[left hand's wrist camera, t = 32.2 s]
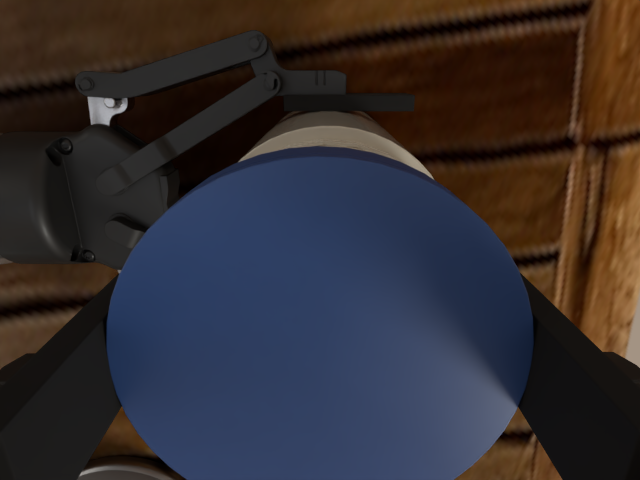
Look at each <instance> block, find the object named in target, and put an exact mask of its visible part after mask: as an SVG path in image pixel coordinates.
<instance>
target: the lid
mask: <svg viewBox="0 0 640 480" xmlns="http://www.w3.org/2000/svg"><path fill="white" fill-rule="evenodd" d="M533 347H534V333H533V316H532V312H531V307H530V302H529V298H528V293H527V290H526V288H525V285H524V283H523V280H522V277H521V275H520V272H519V270H518V268H517V266H516V264H515V263H514V261H513V259H512V257H511V256H510V254H509V252H508V250H507V249H506V247H505V245H504V244H503V243H502V242H501V241H500V239H499V238H498V237H497V236H496V234H495V233H494V232H493V231H492V229H491V228H490V227H489V226H488V224H487V223H485V222H484V221H483V220H482V219H481V218H480V217H479V216H478V215H477V214H476V213H475V212H473V211H472V210H471V209H470V208H469V207H468V206H467V205H466V204H465V203H463V202H462V201H461V200H460V199H459V198H458V197H456V196H455V195H454V194H453V193H452V192H450V191H449V190H448V189H447V188H445V187H444V186H442V185H441V184H440V183H438V182H437V181H435V180H434V179H432V178H431V177H429V176H428V175H426V174H425V173H423V172H421V171H419V170H417V169H415V168H412V167H410V166H408V165H406V164H404V163H402V162H400V161H397V160H394V159H391V158H388V157H385V156H382V155H379V154H376V153H373V152H367V151H362V150H356V149H351V148H346V147H327V146H310V147H298V148H287V149H282V150H278V151H273V152H269V153H264V154H260V155H257V156H254V157H251V158H249V159H246V160H243V161H241V162H238V163H235V164H233V165H231V166H229V167H227V168H225V169H223V170H221V171H220V172H218V173H216V174H214V175H212V176H210V177H209V178H207V179H206V180H204V181H203V182H202V183H200V184H199V185H198V186H196V187H195V188H193V189H192V190H191V191H189V192H188V193H187V194H186V195H184V196H183V197H182V198H181V199H180V200H178V201H177V202H176V203H175V204H174V205H173V206H171V207H170V208H169V209H168V210H167V211H166V212H165V213H164V214H163V215H162V216H161V217H160V218H159V219H158V220H157V221H156V222H155V223H154V224H153V225H152V226H151V227H150V228H149V229H148V230H147V231H146V232H145V234H144V235H143V236H142V238H141V239H140V240H139V242H138V243H137V244H136V246H135V247H134V248H133V250H132V251H131V253H130V255H129V257H128V259H127V260H126V262H125V264H124V266H123V268H122V270H121V272H120V274H119V276H118V279H117V282H116V285H115V288H114V291H113V294H112V296H111V300H110V306H109V312H108V317H107V323H106V350H107V357H108V362H109V367H110V372H111V377H112V381H113V385H114V388H115V391H116V394H117V396H118V398H119V401H120V403H121V405H122V407H123V409H124V411H125V414H126V415H127V417H128V419H129V420H130V422H131V423H132V425H133V426H134V428H135V429H136V431H137V433H138V434H139V435H140V436H141V438H142V439H143V440H144V441H145V442H146V444H147V445H148V446H149V447H150V448H151V449H152V451H153V452H154V453H155V454H156V455H157V456H159V457H160V458H161V459H162V460H163V461H164V462H165V463H166V464H167V465H168V466H169V467H170V468H172V469H173V470H174V471H176V472H177V473H178V474H180V475H181V476H183V477H184V478H185V479H187V480H454V479H455V478H457V477H458V476H459V475H460V474H462V473H463V472H464V471H466V470H467V469H468V468H469V467H471V466H472V465H473V464H474V463H475V462H476V461H477V460H478V459H479V458H480V457H481V456H483V455H484V454H485V453H486V452H487V451H488V450H489V449H490V448H491V446H492V445H493V444H494V443H495V441H496V440H497V439H498V437H499V436H500V435H501V434H502V432H503V431H504V430H505V428H506V427H507V425H508V423H509V422H510V420H511V418H512V417H513V415H514V413H515V412H516V410H517V408H518V405H519V403H520V401H521V398H522V396H523V393H524V391H525V389H526V385H527V381H528V376H529V372H530V367H531V362H532V356H533Z"/></svg>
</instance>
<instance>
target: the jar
mask: <svg viewBox="0 0 640 480" xmlns="http://www.w3.org/2000/svg"><path fill="white" fill-rule="evenodd" d="M310 146H327V147H346V148H351V149H356V150H362V151H367V152H373V153H376V154H379V155H382V156H385V157H388V158H391V159H394V160H397V161H400V162H402V163H404V164H406V165H408V166H410V167H412V168H415V169H417V170H419V171H421V172H423V173H425V174H426V175H428V176H429V177H431V178H432V179H434V178H433V177H432V175H431V174H430V173H429V172H428V170H427V169H426V168H425V167H424V166H423V165H422V164H421V163H420V162H419V161H418V160H417V159H416V158H415V157H414V156H413V155H412V154H411V153H410V152H409V151H407V150H406V149H405V148H404V147H403V146H402V145H401V144H400V143H399V142H398V141H397V140H396V139H394V138H393V137H392V136H391V135H390V134H389V133H388V132H387V131H386V130H385V129H384V128H382V127H381V126H380V125H379V124H378V123H377V122H376V121H375V120H374V119H372V118H371V117H370V116H369V115H367V114H366V113H364V112H362V111H292V112H291V113H289V114H287V115H286V116H285V117H284V118H282V119H281V120H280V121H279V122H278V123H277V124H276V125H275V126H274V127H273V128H272V129H271V130H270V131H269V132H268V133H267V134H266V135H265V136H264V137H263V138H262V139H261V140H260V141H259V142H258V143H257V144H256V145H255V146H254V147H252V148H251V149H250V150H249V151H248V152H247V153H246V154H245V155H244V156H243V157H242V158H241V159H240V160H239V161H238V162H241V161H243V160H246V159H249V158H251V157H254V156H257V155H260V154H264V153H269V152H273V151H278V150H282V149H287V148H298V147H310Z"/></svg>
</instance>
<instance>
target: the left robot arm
mask: <svg viewBox="0 0 640 480" xmlns="http://www.w3.org/2000/svg"><path fill="white" fill-rule="evenodd" d="M119 274H120V273H119ZM119 274H118V275H117V276H116V277H115V278H114V279H113V280H112V281H111V282H110V283H108V284H107V285H106V286H105V287H104V288H103V289H102V290H101V291H100V292H99V293H98V294H97V295H96V296H95V297H94V298H93V299H92V300H91V301H90V302H89V303H88V304H87V305H86V306H85V307H83V308H82V309H81V310H80V311H79V312H78V313H77V314H76V315H75V316H74V317H73V318H72V319H71V320H70V321H69V322H68V323H67V324H66V325H65V326H64V327H63V328H62V329H61V330H60V331H59V332H57V333H56V334H55V335H54V336H53V337H52V338H51V339H50V340H49V341H48V342H47V343H46V344H45V345H44V346H43V347H42V348H41V349H40V350H39V351H38V352H37V353H36V354H25V355H23V356H21V357H20V358H18V359H16V360H14V361H13V362H11V363H9V364H8V365H6V366H4V367H3V368H2V369H1V370H0V480H187V479H185V478H184V477H183V476H181V475H180V474H178V473H177V472H176V471H174V470H173V469H172V468H170V467H168V466H166V465H164V464H161V463H158V462H155V461H152V460H148V459H144V458H138V457H129V456H113V457H105V458H100V459H96V460H92V461H90V462H88V461H89V459H90V457H91V456H92V454H93V453H94V451H95V449H96V448H97V446H98V444H99V443H100V441H101V439H102V438H103V436H104V434H105V433H106V431H107V430H108V428H109V426H110V425H111V423H112V421H113V420H114V418H115V416H116V415H117V413H118V411H119V410H120V408H121V406H122V405H121V403H120V401H119V398H118V396H117V394H116V391H115V388H114V385H113V381H112V377H111V372H110V367H109V362H108V357H107V350H106V323H107V317H108V312H109V306H110V300H111V296H112V294H113V291H114V288H115V285H116V282H117V279H118V276H119ZM520 275H521V277H522V280H523V283H524V285H525V288H526V290H527V293H528V298H529V302H530V307H531V312H532V316H533V333H534V347H533V356H532V362H531V367H530V372H529V376H528V381H527V385H526V389H525V391H524V393H523V396H522V398H521V401H520V403H519V405H518V407H519V409H520V410H521V412H522V414H523V415H524V417H525V418H526V420H527V422H528V423H529V425H530V427H531V428H532V430H533V432H534V433H535V435H536V437H537V438H538V440H539V442H540V443H541V445H542V446H543V448H544V450H545V451H546V453H547V455H548V456H549V458H550V460H551V461H552V463H553V465H554V466H555V468H556V469H557V471H558V473H559V474H560V476H561V478H562V479H563V480H640V368H639V367H638V366H637V365H635V364H633V363H632V362H630V361H628V360H626V359H625V358H623V357H621V356H619V355H618V354H616V353H614V352H602V351H601V350H600V349H599V348H598V347H597V346H596V345H595V344H594V343H593V342H592V341H591V340H589V339H588V338H587V337H586V336H585V335H584V334H583V333H582V332H581V331H580V330H579V329H578V328H577V327H576V326H575V325H574V324H573V323H572V322H571V321H570V320H569V319H568V318H567V317H566V316H565V315H563V314H562V313H561V312H560V311H559V310H558V309H557V308H556V307H555V306H554V305H553V304H552V303H551V302H550V301H549V300H548V299H547V298H546V297H545V296H544V295H543V294H542V293H541V292H540V291H539V290H537V289H536V288H535V287H534V286H533V285H532V284H531V283H530V282H529V281H528V280H527V279H526V278H525V277H524V276H523V275H522V274H521V273H520Z"/></svg>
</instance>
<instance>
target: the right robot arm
mask: <svg viewBox="0 0 640 480" xmlns="http://www.w3.org/2000/svg"><path fill="white" fill-rule="evenodd" d="M250 63H251V66H252V68H253V71H254V73H255V76H256V77H255V78H253V79H252V80H250V81H249V82H247V83H245V84H244V85H242V86H241V87H239V88H238V89H236V90H234V91H233V92H231V93H230V94H228V95H227V96H225V97H223V98H222V99H220V100H219V101H217V102H216V103H214V104H212V105H211V106H209V107H208V108H206V109H205V110H203V111H201V112H200V113H198V114H197V115H195V116H194V117H192V118H191V119H189V120H187V121H186V122H184V123H183V124H181V125H180V126H178V127H176V128H175V129H173V130H172V131H170V132H169V133H167V134H165V135H164V136H162V137H160V138H158V139H156V140H155V141H153V142H151V143H150V144H147V143H145V142H144V141H142V140H141V139H139V138H138V137H136V136H135V135H133V134H132V133H130V132H129V131H127V130H126V129H124V128H123V127H121V126H120V125H118V124H117V119H118V117H119V115H120V114H122V113H124V112H129V111H130V110H132V109H133V107H134V104H135V100H134V97H140V96H148V95H152V94H156V93H160V92H163V91H166V90H169V89H172V88H175V87H178V86H181V85H185V84H188V83H191V82H194V81H197V80H200V79H203V78H206V77H209V76H213V75H216V74H219V73H222V72H225V71H228V70H231V69H234V68H238V67H241V66H244V65H247V64H250ZM75 84H76V87H77V89H78V91H79V92H80V93H81V94H83V95H84V96H88V104H89V112H90V120H91V125H89V126H88V127H86V128H85V129H83V130H81V131H78V132H8V133H4V134H3V133H0V264H6V263H12V262H14V263H20V264H80V263H90V262H97V263H101V264H104V265H107V266H109V267H111V268H113V269H116V270H118V273H120V272H121V270H122V268H123V266H124V264H125V262H126V260H127V259H128V257H129V255H130V253H131V251H132V250H133V248H134V247H135V246H136V244H137V243H138V242H139V240H140V239H141V238H142V236H143V235H144V234H145V232H146V231H147V230H148V229H149V228H150V227H151V226H152V225H153V224H154V223H155V222H156V221H157V220H158V219H159V218H160V217H161V216H162V215H163V214H164V213H165V212H166V211H167V210H168V209H169V208H170V207H171V206H173V205H174V204H175V203H176V202H177V201H178V200H180V199H179V196H178V190H179V184H180V179H179V170H178V169H175V168H174V166H173V164H172V163H171V161H172V160H174V159H175V158H177V157H178V156H180V155H182V154H183V153H185V152H186V151H188V150H190V149H191V148H193V147H194V146H196V145H197V144H199V143H201V142H202V141H204V140H205V139H207V138H209V137H210V136H212V135H214V134H215V133H217V132H218V131H220V130H222V129H223V128H225V127H226V126H228V125H230V124H231V123H233V122H234V121H236V120H238V119H239V118H241V117H243V116H244V115H246V114H247V113H249V112H251V111H252V110H254V109H255V108H257V107H259V106H260V105H262V104H263V103H265V102H267V101H268V100H270V99H272V98H273V97H275V96H283V98H284V111H414V99H415V95H411V94H407V93H346V74H343V73H341V72H339V71H336V70H286V69H284V68H283V67H282V66H281V65H280V64H279V62H278V60H277V57H276V54H275V52H274V49H273V45H272V42H271V40H270V39H269V38H268V37H267V36H266V35H264V34H263V33H261V32H260V31H257V30H251V31H248V32H245V33H242V34H239V35H236V36H232V37H229V38H226V39H223V40H220V41H217V42H214V43H211V44H208V45H205V46H202V47H199V48H196V49H193V50H190V51H187V52H184V53H181V54H178V55H175V56H172V57H169V58H166V59H163V60H160V61H157V62H154V63H151V64H147V65H144V66H141V67H138V68H135V69H132V70H129V71H126V72H123V73H121V72H100V71H84V72H80V73H79V74H78V75H77V77H76V78H75Z"/></svg>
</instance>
